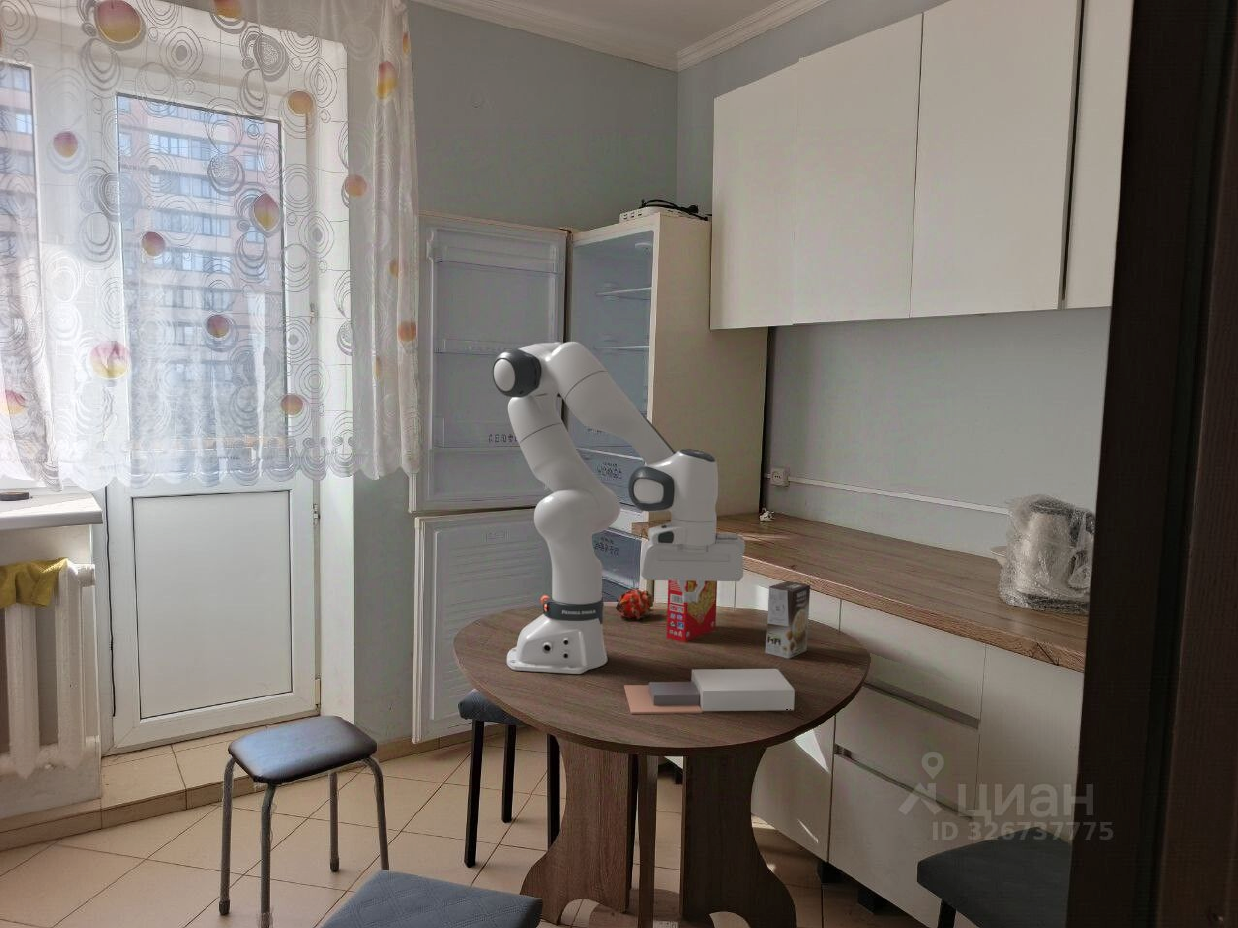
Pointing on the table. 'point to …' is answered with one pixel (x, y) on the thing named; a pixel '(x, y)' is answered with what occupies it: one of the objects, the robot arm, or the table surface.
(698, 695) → the gray flat block
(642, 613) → the dragon fruit
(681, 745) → the table surface
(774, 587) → the coffee box
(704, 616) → the food packaging
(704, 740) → the table surface
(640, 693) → the mat
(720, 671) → the block
